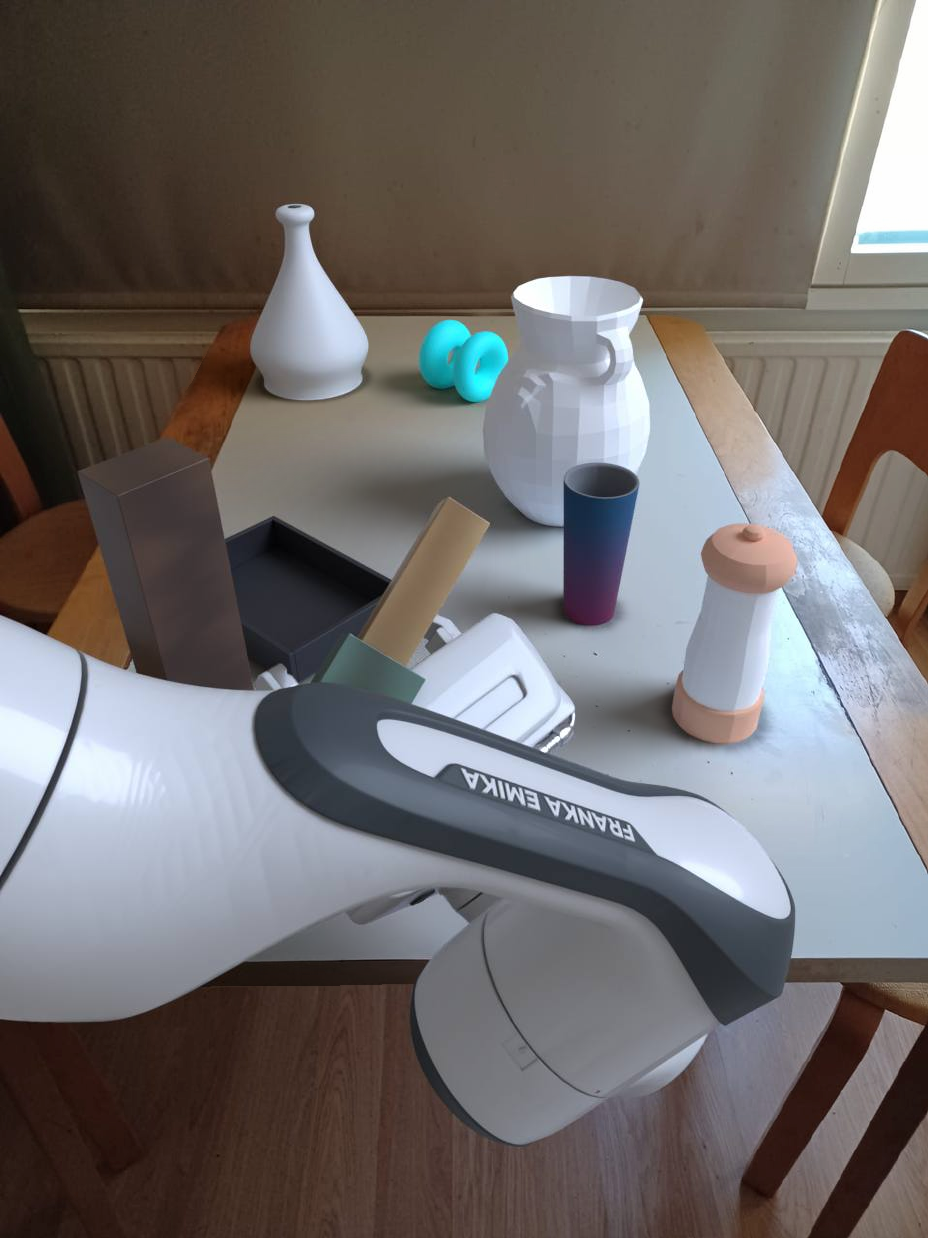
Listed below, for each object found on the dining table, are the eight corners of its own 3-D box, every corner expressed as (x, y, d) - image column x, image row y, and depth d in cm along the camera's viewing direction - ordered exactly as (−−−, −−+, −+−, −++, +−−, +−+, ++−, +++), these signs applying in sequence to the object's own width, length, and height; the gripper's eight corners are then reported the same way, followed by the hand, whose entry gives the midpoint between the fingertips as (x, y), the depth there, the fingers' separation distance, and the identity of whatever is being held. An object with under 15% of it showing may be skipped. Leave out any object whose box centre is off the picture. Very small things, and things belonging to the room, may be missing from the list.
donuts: (463, 374, 140) (462, 310, 134) (511, 392, 134) (513, 326, 128) (416, 394, 134) (413, 327, 128) (464, 413, 129) (464, 344, 123)
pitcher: (672, 520, 105) (706, 302, 90) (541, 566, 97) (554, 337, 82) (576, 457, 118) (591, 257, 103) (453, 493, 110) (450, 283, 95)
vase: (237, 400, 133) (206, 218, 118) (281, 357, 146) (259, 189, 131) (350, 410, 130) (333, 225, 115) (384, 365, 143) (374, 194, 128)
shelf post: (193, 779, 73) (116, 495, 57) (158, 749, 76) (76, 470, 60) (262, 733, 77) (209, 457, 62) (227, 707, 80) (167, 436, 64)
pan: (294, 689, 82) (288, 655, 79) (168, 602, 93) (160, 569, 90) (406, 619, 90) (404, 586, 88) (278, 546, 101) (273, 515, 99)
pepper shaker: (687, 679, 83) (722, 494, 71) (767, 706, 80) (817, 517, 68) (658, 727, 78) (691, 536, 66) (742, 758, 75) (792, 564, 63)
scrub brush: (491, 537, 57) (514, 528, 52) (368, 747, 55) (380, 757, 50) (424, 494, 56) (441, 480, 51) (296, 705, 54) (301, 712, 49)
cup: (627, 634, 88) (644, 498, 79) (556, 633, 88) (566, 498, 79) (618, 593, 93) (634, 462, 84) (552, 593, 93) (560, 461, 84)
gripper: (613, 702, 55) (468, 535, 58) (366, 918, 43) (194, 696, 45) (566, 742, 60) (434, 587, 63) (332, 944, 48) (179, 743, 50)
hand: (330, 634), depth 54 cm, fingers closed on scrub brush, 8 cm apart
